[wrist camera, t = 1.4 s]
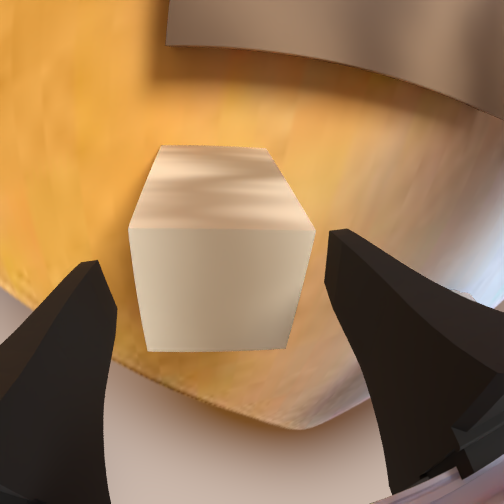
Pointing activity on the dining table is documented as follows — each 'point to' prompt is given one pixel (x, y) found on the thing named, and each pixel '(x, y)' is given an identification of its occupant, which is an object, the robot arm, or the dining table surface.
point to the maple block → (218, 250)
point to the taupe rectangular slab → (364, 38)
